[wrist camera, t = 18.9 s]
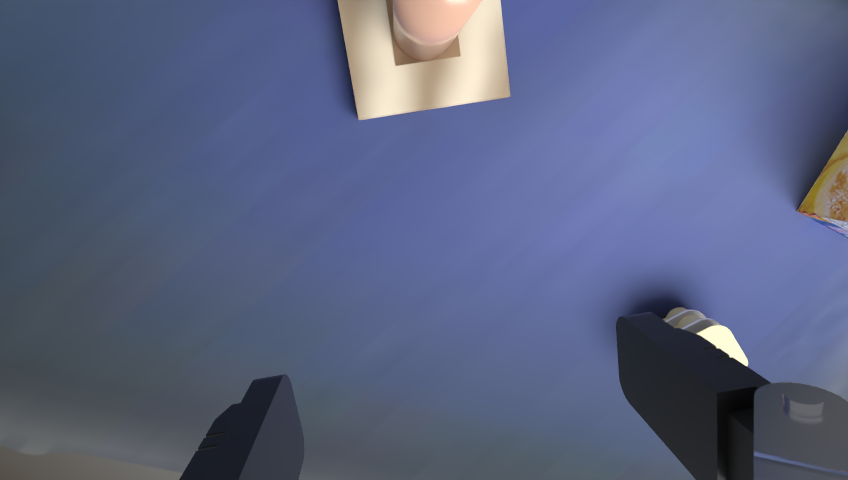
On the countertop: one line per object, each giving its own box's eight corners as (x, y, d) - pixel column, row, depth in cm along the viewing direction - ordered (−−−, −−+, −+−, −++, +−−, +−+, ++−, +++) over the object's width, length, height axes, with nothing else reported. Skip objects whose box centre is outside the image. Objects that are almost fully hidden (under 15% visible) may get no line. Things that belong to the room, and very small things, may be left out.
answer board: (359, 120, 39) (358, 119, 38) (331, -43, 36) (328, -52, 35) (505, 97, 40) (510, 96, 38) (488, -66, 37) (493, -75, 35)
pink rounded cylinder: (398, 65, 37) (401, 26, 22) (388, -1, 36) (384, -86, 21) (458, 55, 37) (500, 11, 22) (449, -10, 36) (488, -101, 21)
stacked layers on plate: (630, 392, 47) (661, 426, 42) (606, 311, 45) (636, 336, 40) (727, 356, 47) (771, 386, 42) (708, 273, 45) (752, 293, 39)
